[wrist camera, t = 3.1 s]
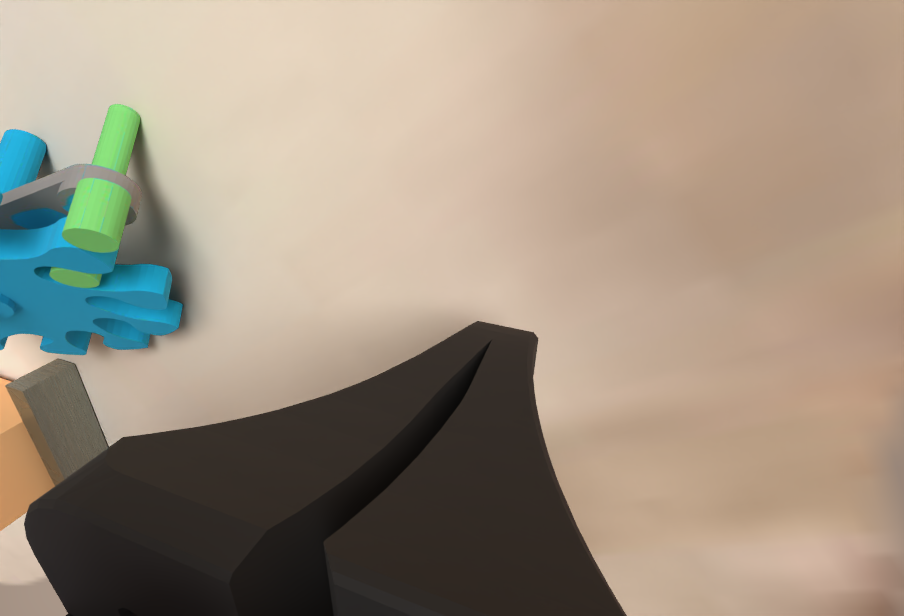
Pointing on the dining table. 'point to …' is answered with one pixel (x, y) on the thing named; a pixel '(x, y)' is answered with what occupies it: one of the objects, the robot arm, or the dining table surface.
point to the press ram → (18, 464)
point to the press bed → (58, 417)
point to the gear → (76, 247)
